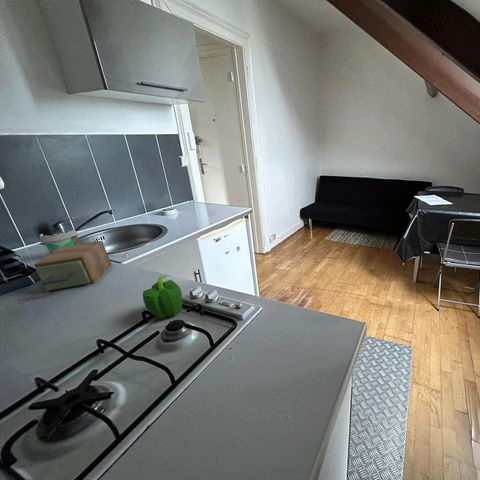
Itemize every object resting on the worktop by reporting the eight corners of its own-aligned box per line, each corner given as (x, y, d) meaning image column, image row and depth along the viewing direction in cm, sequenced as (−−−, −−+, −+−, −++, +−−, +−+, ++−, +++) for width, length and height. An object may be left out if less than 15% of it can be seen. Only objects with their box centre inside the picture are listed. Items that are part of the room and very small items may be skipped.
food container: (41, 262, 103) (29, 239, 99) (51, 256, 108) (40, 233, 104) (78, 257, 106) (67, 234, 102) (86, 251, 111) (76, 229, 107)
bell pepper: (171, 325, 63) (159, 290, 59) (143, 322, 65) (130, 288, 61) (193, 304, 71) (184, 272, 67) (168, 301, 73) (157, 270, 69)
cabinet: (93, 283, 85) (81, 256, 81) (48, 291, 82) (33, 264, 78) (111, 264, 98) (102, 240, 94) (73, 270, 95) (61, 246, 91)
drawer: (82, 290, 79) (71, 267, 76) (38, 298, 77) (25, 275, 74) (106, 264, 95) (98, 245, 92) (70, 270, 92) (61, 251, 89)
